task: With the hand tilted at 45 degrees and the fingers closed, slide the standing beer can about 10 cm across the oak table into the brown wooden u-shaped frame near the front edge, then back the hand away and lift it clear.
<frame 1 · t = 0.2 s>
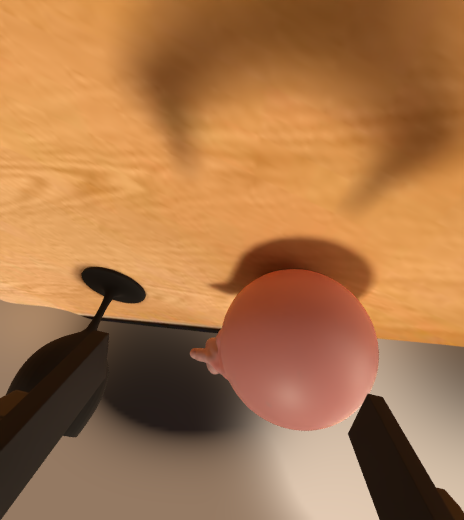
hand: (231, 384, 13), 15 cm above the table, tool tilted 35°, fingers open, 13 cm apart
wine glass: (115, 284, 43), on the table
balloon: (278, 280, 33), on the table
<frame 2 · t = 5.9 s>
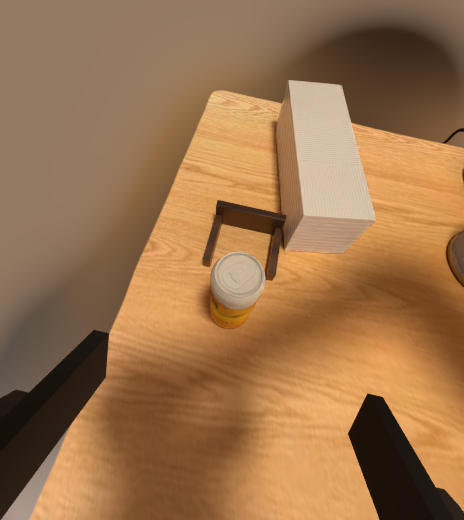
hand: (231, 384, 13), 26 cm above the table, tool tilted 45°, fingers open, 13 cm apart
stack of papers: (304, 184, 54), on the table
beer can: (229, 310, 41), on the table
brown wooden u-shaped frame: (242, 250, 46), on the table
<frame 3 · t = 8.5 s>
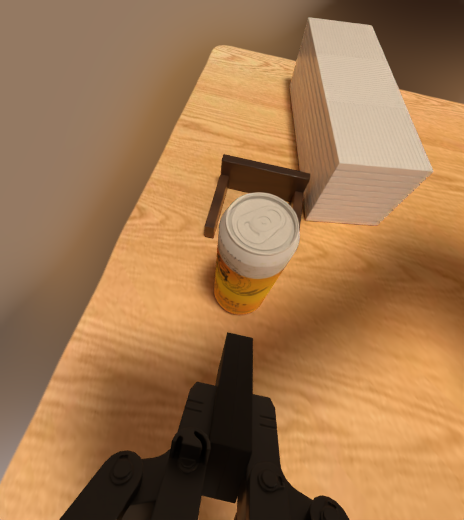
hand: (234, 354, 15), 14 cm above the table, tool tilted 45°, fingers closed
stack of papers: (326, 146, 45), on the table
beer can: (238, 292, 32), on the table
brown wooden u-shaped frame: (253, 219, 37), on the table
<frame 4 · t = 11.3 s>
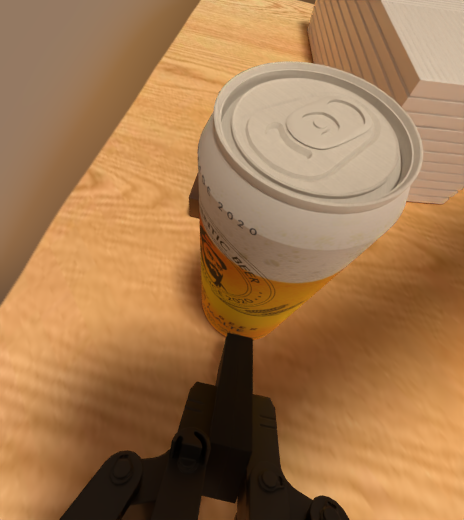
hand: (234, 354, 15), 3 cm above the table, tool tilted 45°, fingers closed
stack of papers: (359, 101, 33), on the table
beer can: (241, 302, 20), on the table, touching gripper
brown wooden u-shaped frame: (264, 192, 25), on the table
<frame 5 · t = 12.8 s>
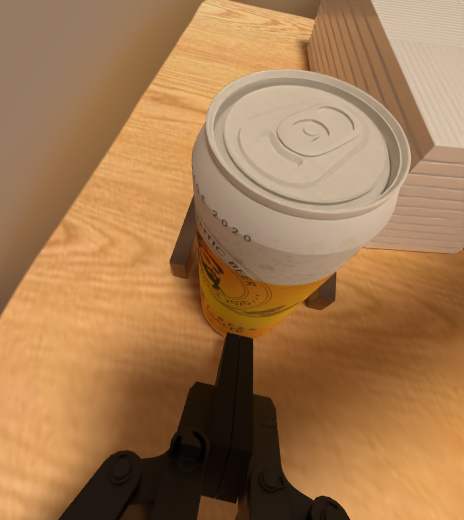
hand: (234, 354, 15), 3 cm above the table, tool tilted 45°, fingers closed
stack of papers: (363, 130, 31), on the table
beer can: (240, 302, 20), on the table, touching gripper
brown wooden u-shaped frame: (256, 244, 22), on the table
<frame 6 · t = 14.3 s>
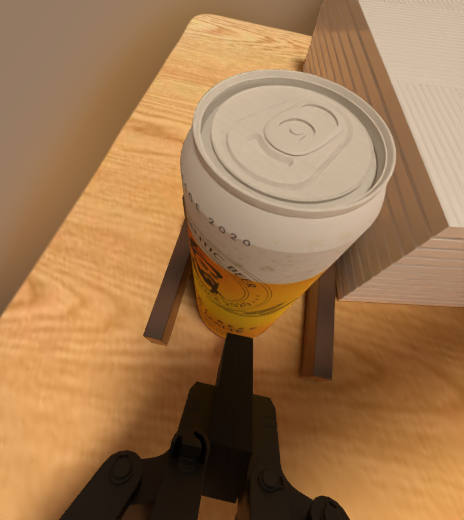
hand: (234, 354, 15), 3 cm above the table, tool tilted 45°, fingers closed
stack of papers: (362, 161, 28), on the table
beer can: (236, 302, 20), on the table, touching gripper
brown wooden u-shaped frame: (245, 301, 20), on the table
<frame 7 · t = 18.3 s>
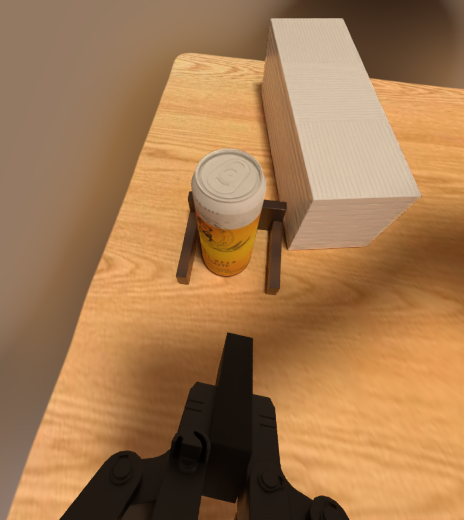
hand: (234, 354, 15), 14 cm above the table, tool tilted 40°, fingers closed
stack of papers: (305, 159, 41), on the table
beer can: (226, 256, 34), on the table
brown wooden u-shaped frame: (231, 256, 34), on the table
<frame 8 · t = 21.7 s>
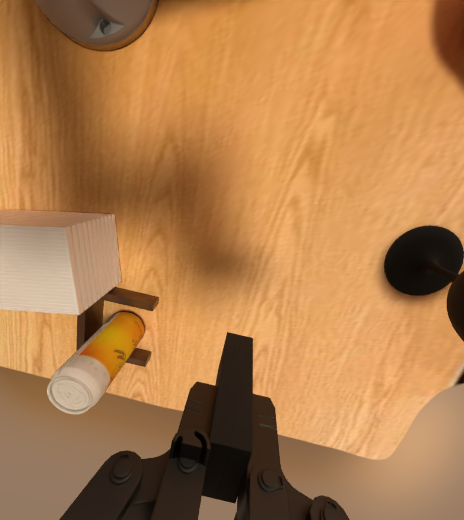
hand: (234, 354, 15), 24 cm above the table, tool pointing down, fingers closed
stack of papers: (20, 243, 41), on the table
wine glass: (421, 261, 37), on the table
beer can: (129, 325, 44), on the table
brown wooden u-shaped frame: (128, 322, 44), on the table
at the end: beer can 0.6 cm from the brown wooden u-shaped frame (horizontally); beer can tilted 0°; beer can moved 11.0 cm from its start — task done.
